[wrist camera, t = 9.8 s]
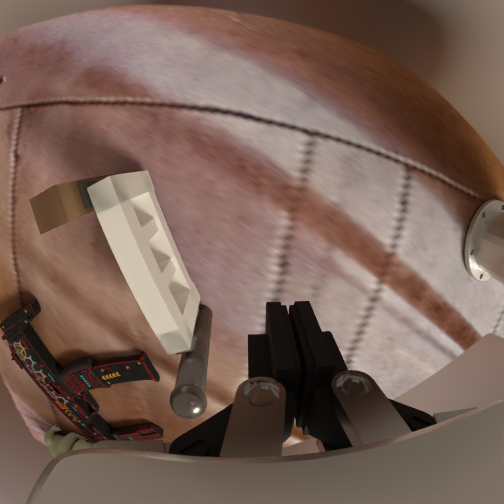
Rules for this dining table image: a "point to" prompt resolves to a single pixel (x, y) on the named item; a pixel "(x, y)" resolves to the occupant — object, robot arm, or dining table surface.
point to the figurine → (64, 442)
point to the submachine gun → (77, 379)
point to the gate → (148, 256)
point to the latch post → (63, 203)
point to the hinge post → (193, 371)
